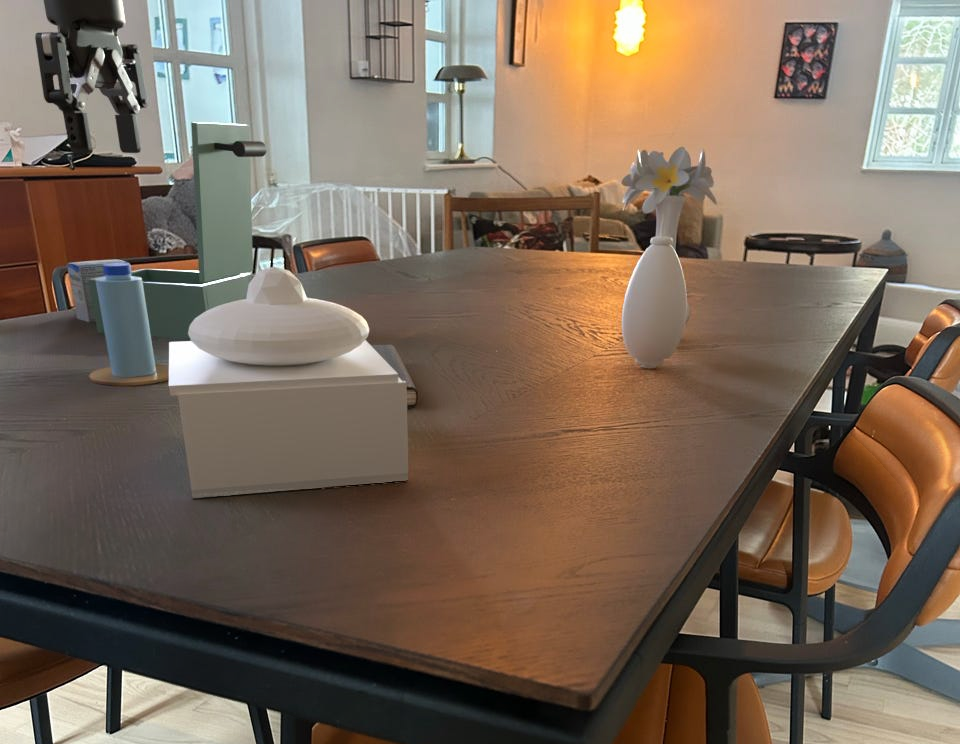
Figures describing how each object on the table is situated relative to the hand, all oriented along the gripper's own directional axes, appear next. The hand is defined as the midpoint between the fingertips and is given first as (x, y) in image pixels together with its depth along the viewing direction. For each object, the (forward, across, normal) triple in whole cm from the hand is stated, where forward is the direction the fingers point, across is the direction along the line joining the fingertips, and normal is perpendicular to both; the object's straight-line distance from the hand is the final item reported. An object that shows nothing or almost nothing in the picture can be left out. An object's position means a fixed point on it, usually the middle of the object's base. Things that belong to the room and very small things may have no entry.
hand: (107, 153), depth 99 cm
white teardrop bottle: (+23, -25, +58) cm, 67 cm away
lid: (+6, -24, -1) cm, 25 cm away
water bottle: (+23, +1, 0) cm, 23 cm away
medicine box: (+24, -28, -25) cm, 45 cm away
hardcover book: (+24, -2, +25) cm, 34 cm away
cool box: (+24, -24, -10) cm, 35 cm away
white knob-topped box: (+24, +25, +32) cm, 47 cm away
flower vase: (+24, -47, +56) cm, 77 cm away
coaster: (+24, +2, 0) cm, 24 cm away
